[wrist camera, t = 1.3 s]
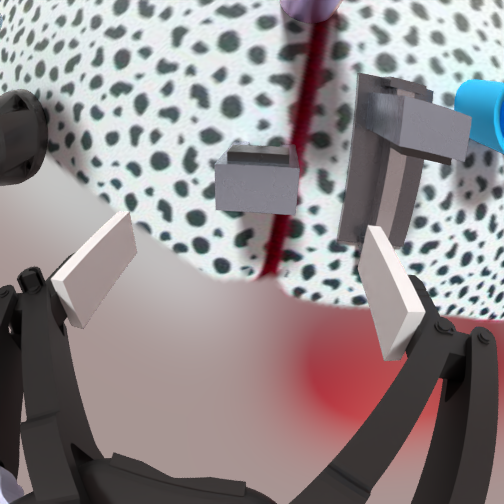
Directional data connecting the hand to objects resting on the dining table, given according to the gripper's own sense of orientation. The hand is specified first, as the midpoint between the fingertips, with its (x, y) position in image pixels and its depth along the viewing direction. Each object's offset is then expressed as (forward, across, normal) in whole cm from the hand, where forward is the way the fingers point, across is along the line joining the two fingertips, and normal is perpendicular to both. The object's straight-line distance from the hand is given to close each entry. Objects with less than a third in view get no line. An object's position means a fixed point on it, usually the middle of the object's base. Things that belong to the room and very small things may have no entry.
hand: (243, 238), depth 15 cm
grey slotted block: (+19, +14, +1) cm, 23 cm away
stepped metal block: (+19, 0, 0) cm, 19 cm away
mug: (+19, +28, +9) cm, 35 cm away
